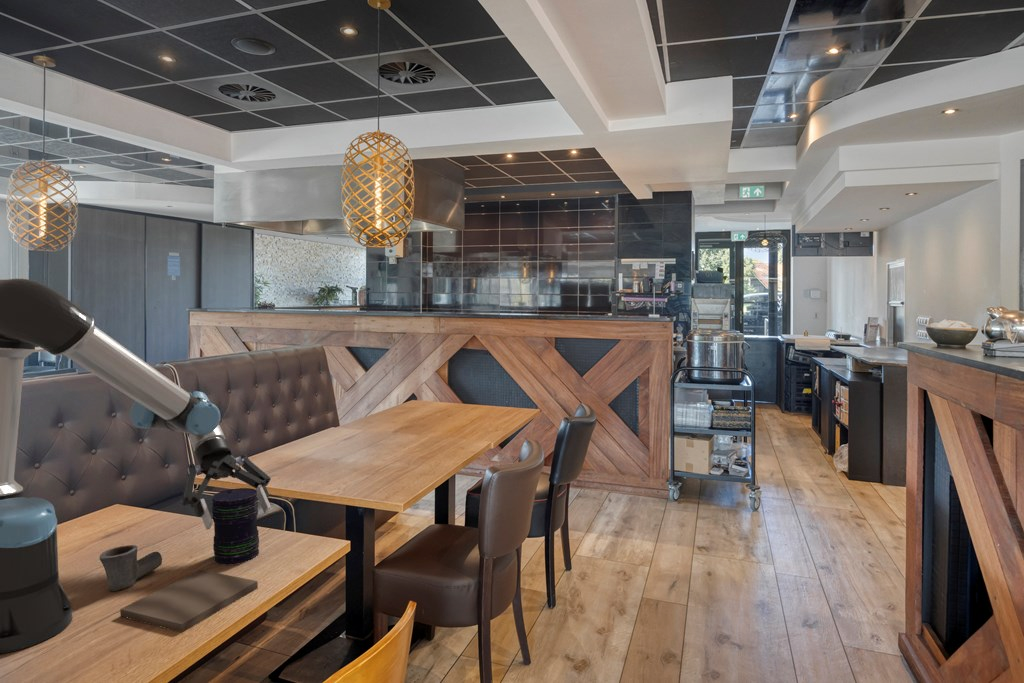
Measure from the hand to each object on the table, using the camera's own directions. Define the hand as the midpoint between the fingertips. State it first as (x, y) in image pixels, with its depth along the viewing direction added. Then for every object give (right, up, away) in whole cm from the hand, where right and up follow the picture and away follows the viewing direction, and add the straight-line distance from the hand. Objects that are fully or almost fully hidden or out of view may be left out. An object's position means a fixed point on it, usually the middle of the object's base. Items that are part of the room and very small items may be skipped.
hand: (239, 518), depth 138 cm
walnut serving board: (0, -11, -20) cm, 23 cm away
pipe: (-18, -11, -11) cm, 24 cm away
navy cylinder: (-1, -10, +1) cm, 10 cm away
